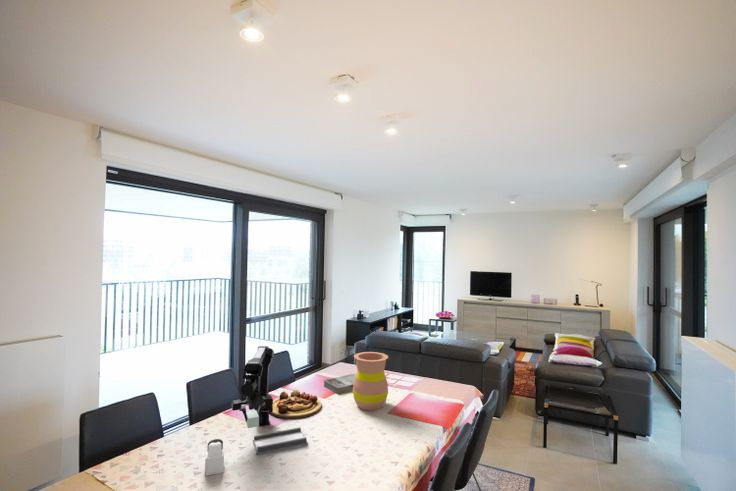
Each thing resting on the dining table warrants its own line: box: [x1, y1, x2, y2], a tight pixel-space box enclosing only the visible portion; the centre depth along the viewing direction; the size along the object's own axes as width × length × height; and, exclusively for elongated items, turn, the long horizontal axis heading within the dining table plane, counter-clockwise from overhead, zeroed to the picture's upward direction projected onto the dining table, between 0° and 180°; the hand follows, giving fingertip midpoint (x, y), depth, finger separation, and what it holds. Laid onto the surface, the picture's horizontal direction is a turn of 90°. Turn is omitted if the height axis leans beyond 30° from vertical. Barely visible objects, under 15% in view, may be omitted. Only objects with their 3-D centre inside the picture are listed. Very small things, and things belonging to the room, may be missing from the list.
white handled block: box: [204, 438, 225, 476], centre depth 156 cm, size 7×7×12 cm
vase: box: [352, 351, 389, 412], centre depth 226 cm, size 22×22×30 cm
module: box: [245, 409, 260, 429], centre depth 177 cm, size 8×5×4 cm, turn 26°
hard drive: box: [323, 373, 357, 395], centre depth 259 cm, size 18×27×4 cm
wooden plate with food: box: [270, 389, 323, 420], centre depth 221 cm, size 32×32×8 cm
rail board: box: [252, 427, 308, 456], centre depth 179 cm, size 13×24×3 cm, turn 115°
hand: (252, 420), depth 177 cm, fingers closed on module, 5 cm apart
